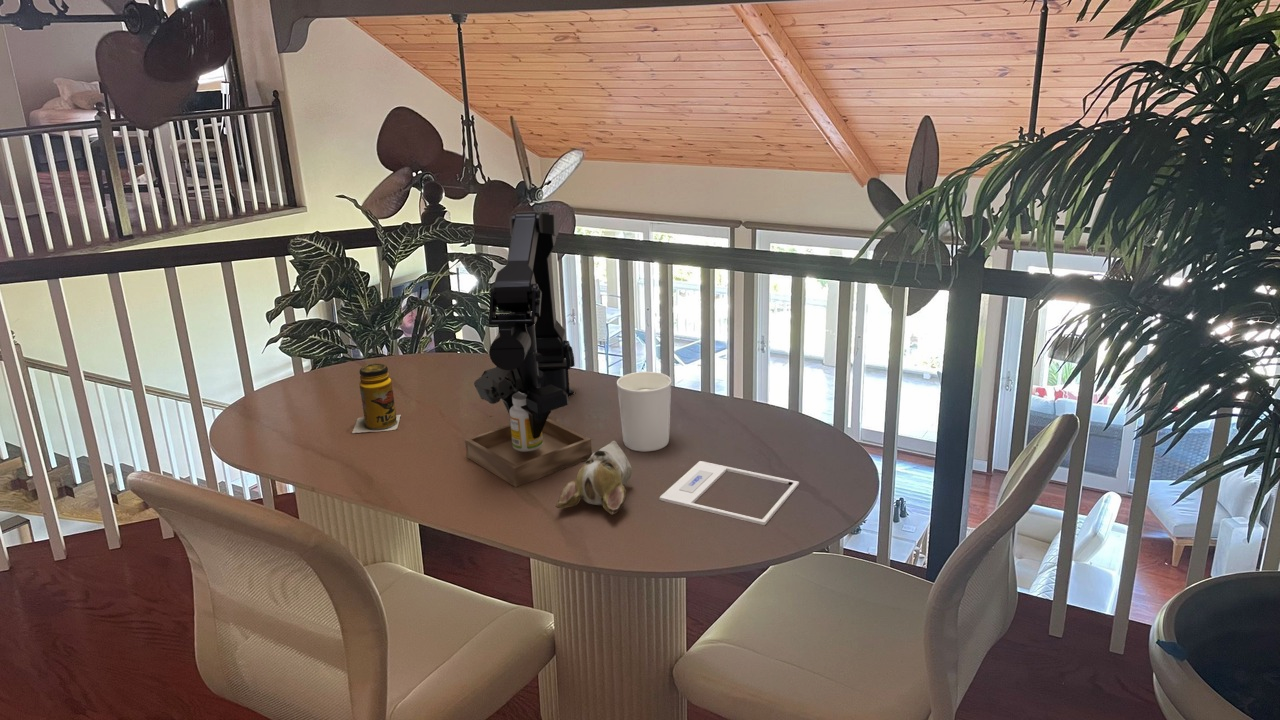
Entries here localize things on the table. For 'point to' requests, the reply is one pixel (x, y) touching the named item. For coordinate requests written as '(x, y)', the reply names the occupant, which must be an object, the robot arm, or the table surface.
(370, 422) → the condiment
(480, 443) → the box
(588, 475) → the ceramic sculpture
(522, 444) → the supplement bottle
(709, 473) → the photo frame
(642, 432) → the candle holder
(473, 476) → the table surface
